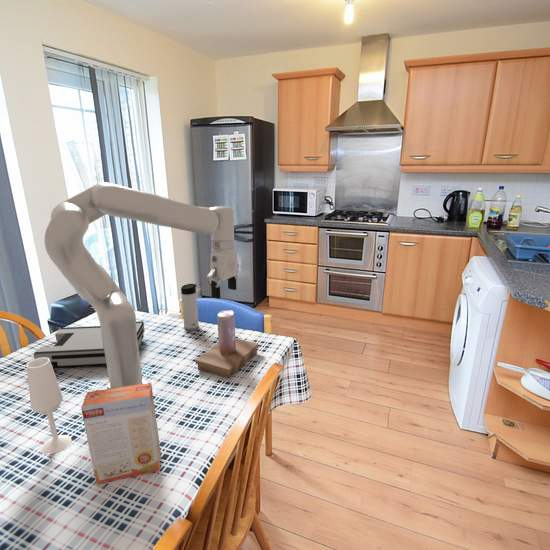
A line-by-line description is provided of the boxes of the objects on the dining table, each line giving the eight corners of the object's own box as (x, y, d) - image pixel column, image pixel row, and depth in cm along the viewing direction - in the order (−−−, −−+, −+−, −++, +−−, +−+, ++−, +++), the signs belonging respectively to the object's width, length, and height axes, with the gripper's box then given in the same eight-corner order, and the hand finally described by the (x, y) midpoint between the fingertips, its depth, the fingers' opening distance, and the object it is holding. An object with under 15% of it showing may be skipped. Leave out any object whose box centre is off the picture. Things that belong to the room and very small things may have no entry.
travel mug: (197, 331, 156) (194, 287, 150) (182, 331, 156) (178, 287, 150) (201, 324, 161) (197, 282, 155) (186, 324, 162) (182, 282, 156)
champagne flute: (43, 439, 95) (24, 358, 88) (72, 432, 98) (56, 353, 90) (39, 457, 89) (18, 372, 82) (70, 449, 92) (52, 366, 85)
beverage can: (227, 345, 135) (226, 308, 130) (239, 350, 131) (237, 312, 127) (215, 352, 130) (213, 313, 126) (227, 357, 127) (225, 318, 122)
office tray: (64, 343, 146) (60, 325, 144) (145, 339, 149) (143, 321, 147) (37, 371, 126) (32, 351, 124) (131, 366, 129) (128, 346, 127)
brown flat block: (229, 380, 120) (229, 369, 119) (196, 369, 126) (195, 359, 125) (258, 353, 137) (258, 343, 136) (228, 345, 144) (227, 336, 142)
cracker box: (161, 453, 90) (152, 380, 84) (160, 472, 85) (150, 396, 79) (100, 464, 87) (86, 389, 81) (95, 485, 82) (80, 406, 75)
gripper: (216, 250, 110) (218, 303, 115) (246, 241, 125) (246, 287, 130) (197, 248, 113) (199, 299, 118) (228, 238, 128) (229, 284, 133)
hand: (224, 293), depth 124 cm, fingers open, 9 cm apart
